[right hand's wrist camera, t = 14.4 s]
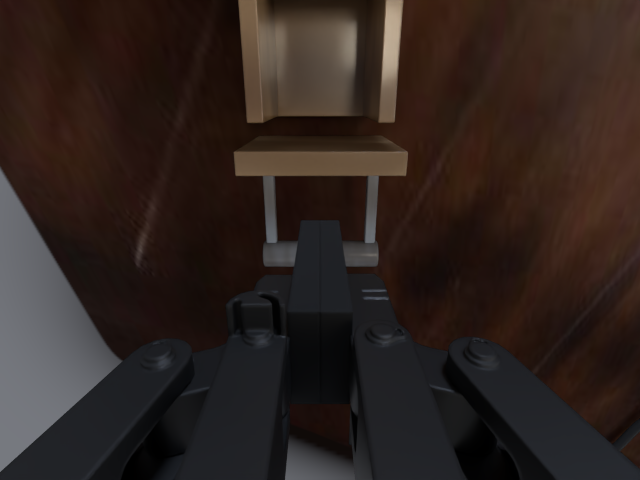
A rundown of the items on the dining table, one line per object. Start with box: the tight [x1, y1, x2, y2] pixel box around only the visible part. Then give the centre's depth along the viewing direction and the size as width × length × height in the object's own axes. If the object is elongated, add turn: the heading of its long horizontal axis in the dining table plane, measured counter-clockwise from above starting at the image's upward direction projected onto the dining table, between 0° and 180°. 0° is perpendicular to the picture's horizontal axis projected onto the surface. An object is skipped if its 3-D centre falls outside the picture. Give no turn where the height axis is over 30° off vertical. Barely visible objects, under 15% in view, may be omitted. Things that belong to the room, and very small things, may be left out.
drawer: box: [234, 0, 408, 267], centre depth 19 cm, size 25×8×8 cm, turn 0°
